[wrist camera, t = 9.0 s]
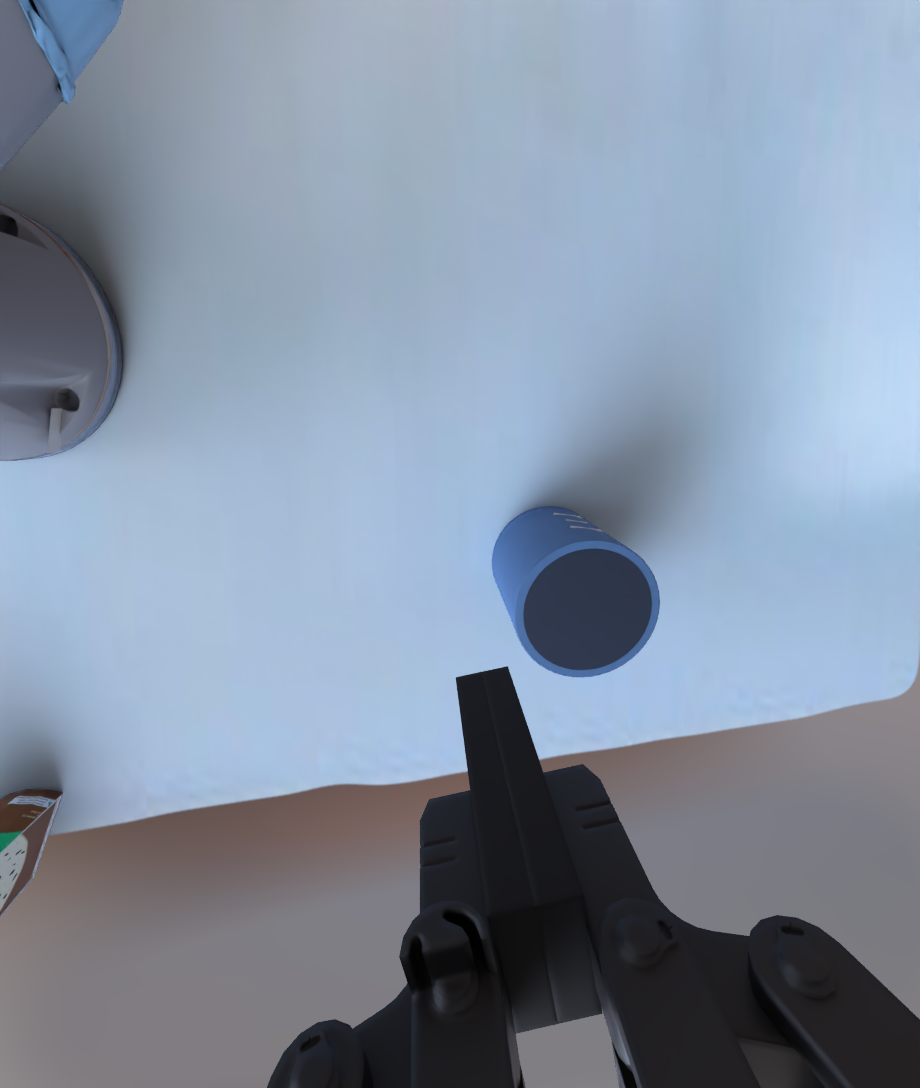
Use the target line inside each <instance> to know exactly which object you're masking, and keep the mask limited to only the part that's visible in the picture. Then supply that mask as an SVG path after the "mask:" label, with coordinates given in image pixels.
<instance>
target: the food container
mask: <svg viewBox="0 0 920 1088" xmlns="http://www.w3.org/2000/svg"><path fill="white" fill-rule="evenodd" d="M61 797H62V793H58V792H54V791H50V790H24V791H20V792H15V793H11V794H9V795H7V796H5V797H4V798H2V799H0V918H1V916H2V915H3V914H4V913H5V911H6V910H7V909H8V908H9V907H10V906H11V904H12V903H13V902H14V900H15V899H16V898H17V897H18V896H19V894H20V893H21V892H22V891H23V890H24V888H25V887H26V886H27V885H28V884H29V882H30V881H31V880H32V879H33V877H34V876H35V873H36V870H37V867H38V864H39V861H40V858H41V855H42V852H43V850H44V846H45V844H46V841H47V838H48V835H49V832H50V829H51V826H52V823H53V820H54V817H55V814H56V811H57V808H58V806H59V803H60V800H61Z"/></svg>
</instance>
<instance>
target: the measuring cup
mask: <svg viewBox="0 0 920 1088" xmlns="http://www.w3.org/2000/svg"><path fill="white" fill-rule="evenodd" d="M492 569H493V575H494V578H495V581H496V583H497V586H498V588H499V591H500V593H501V596H502V598H503V601H504V603H505V606H506V608H507V611H508V613H509V616H510V618H511V621H512V623H513V626H514V628H515V631H516V633H517V636H518V638H519V640H520V642H521V644H522V646H523V648H524V649H525V651H526V652H527V653H528V654H529V656H530V657H531V658H532V659H533V660H534V661H536V662H537V663H538V664H539V665H541V666H542V667H544V668H546V669H547V670H550V671H552V672H554V673H557V674H560V675H564V676H570V677H591V676H596V675H601V674H604V673H607V672H610V671H612V670H614V669H616V668H618V667H620V666H622V665H623V664H625V663H626V662H628V661H629V660H630V659H632V658H633V657H634V656H635V655H636V654H637V653H638V652H639V651H640V650H641V649H642V648H643V646H644V645H645V644H646V642H647V641H648V639H649V638H650V636H651V634H652V632H653V630H654V628H655V625H656V622H657V619H658V614H659V605H660V599H659V590H658V586H657V582H656V580H655V577H654V575H653V573H652V571H651V570H650V568H649V567H648V565H647V564H646V563H645V561H644V560H643V559H642V558H641V557H639V556H638V555H637V554H636V553H634V552H633V551H632V550H630V549H629V548H627V547H626V546H624V545H623V544H621V543H620V542H618V541H617V540H615V539H614V538H612V537H611V536H609V535H608V534H606V533H605V532H603V530H600V529H599V528H597V527H595V526H594V525H592V524H591V523H589V522H588V521H586V520H585V519H583V518H582V516H579V515H577V514H576V513H574V512H572V511H569V510H566V509H563V508H558V507H541V508H536V509H532V510H529V511H527V512H525V513H523V514H521V515H519V516H518V517H516V518H515V519H514V520H512V521H511V522H510V523H509V524H508V525H507V526H506V527H505V528H504V530H503V531H502V532H501V534H500V536H499V537H498V539H497V542H496V544H495V547H494V551H493V556H492Z"/></svg>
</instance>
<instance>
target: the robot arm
mask: <svg viewBox="0 0 920 1088" xmlns="http://www.w3.org/2000/svg"><path fill="white" fill-rule="evenodd" d="M122 4H123V0H0V171H1V170H2V169H3V167H4V166H5V165H6V164H7V163H8V162H9V161H10V159H11V158H12V157H13V156H14V155H15V154H16V153H17V151H18V150H19V149H20V148H21V147H22V146H23V145H24V143H25V142H26V141H27V140H28V139H29V138H30V137H31V135H32V134H33V133H34V132H35V131H36V130H37V129H38V127H39V126H40V125H41V124H42V123H43V122H44V121H45V119H46V118H47V117H48V116H49V115H50V114H51V113H52V111H53V110H54V109H55V108H56V107H57V106H58V105H59V104H60V102H61V101H63V102H65V103H66V104H68V103H69V102H70V101H71V100H72V99H73V97H74V94H75V84H74V82H75V80H76V79H77V77H78V76H79V75H80V73H81V72H82V71H83V69H84V68H85V67H86V65H87V64H88V62H89V61H90V60H91V58H92V57H93V56H94V54H95V53H96V52H97V50H98V49H99V47H100V46H101V45H102V43H103V42H104V41H105V39H106V38H107V36H108V35H109V34H110V32H111V31H112V30H113V28H114V27H115V25H116V23H117V21H118V19H119V16H120V14H121V10H122ZM121 371H122V351H121V341H120V336H119V331H118V327H117V323H116V320H115V317H114V314H113V311H112V309H111V306H110V304H109V302H108V300H107V298H106V295H105V293H104V292H103V290H102V288H101V286H100V285H99V283H98V281H97V280H96V278H95V277H94V275H93V274H92V272H91V271H90V270H89V268H88V267H87V266H86V265H85V263H84V262H83V261H82V260H81V258H80V257H79V256H78V255H77V254H76V253H75V252H74V251H73V250H72V249H71V248H70V247H69V246H68V245H67V244H66V243H65V242H63V241H62V240H61V239H60V238H59V237H58V236H56V235H55V234H54V233H52V232H51V231H50V230H48V229H47V228H45V227H44V226H42V225H41V224H39V223H38V222H36V221H34V220H32V219H31V218H29V217H27V216H25V215H23V214H21V213H19V212H17V211H15V210H13V209H11V208H9V207H7V206H5V205H3V204H1V203H0V461H13V460H24V459H33V458H42V457H47V456H51V455H55V454H58V453H61V452H64V451H66V450H68V449H70V448H72V447H74V446H76V445H77V444H79V443H81V442H82V441H84V440H85V439H86V438H87V437H89V436H90V435H91V434H92V433H93V432H94V431H95V430H96V429H97V428H98V427H99V426H100V425H101V423H102V422H103V421H104V419H105V418H106V416H107V415H108V413H109V411H110V409H111V407H112V405H113V403H114V401H115V398H116V395H117V392H118V389H119V384H120V379H121ZM456 683H457V691H458V699H459V706H460V714H461V722H462V729H463V737H464V745H465V753H466V760H467V768H468V775H469V783H470V790H469V791H465V792H460V793H456V794H451V795H447V796H442V797H438V798H433V799H430V800H429V801H428V803H427V806H426V808H425V810H424V813H423V815H422V817H421V820H420V846H421V848H420V866H421V868H420V914H419V915H418V916H417V917H416V918H415V919H414V920H413V921H412V923H411V925H410V926H409V928H408V930H407V932H406V933H405V935H404V937H403V941H402V946H401V951H400V956H399V957H400V960H401V963H402V966H403V970H404V973H405V976H406V979H407V982H408V983H407V985H406V987H405V988H404V989H403V990H402V991H401V993H400V994H399V995H398V996H397V998H396V999H394V1000H393V1001H392V1002H391V1003H390V1004H388V1005H387V1006H386V1007H385V1008H383V1009H382V1010H380V1011H379V1012H377V1013H376V1014H375V1015H373V1016H372V1017H370V1018H368V1019H367V1020H365V1021H364V1022H362V1023H361V1024H359V1025H358V1026H356V1027H355V1028H353V1029H352V1028H351V1027H350V1025H348V1024H346V1023H343V1022H340V1021H338V1020H329V1021H323V1022H318V1023H316V1024H315V1025H313V1026H312V1027H310V1028H308V1029H307V1030H305V1031H304V1032H302V1033H300V1034H299V1035H298V1037H297V1038H296V1039H295V1040H294V1041H293V1042H292V1044H291V1045H290V1046H289V1047H288V1048H287V1050H285V1052H284V1053H283V1055H282V1057H281V1059H280V1061H279V1063H278V1064H277V1066H276V1068H275V1070H274V1072H273V1074H272V1076H271V1078H270V1081H269V1084H268V1086H267V1088H525V1082H524V1078H523V1074H522V1070H521V1066H520V1060H519V1054H518V1047H517V1041H516V1033H520V1032H525V1031H529V1030H533V1029H537V1028H542V1027H546V1026H550V1025H555V1024H559V1023H563V1022H567V1021H572V1020H576V1019H580V1018H585V1017H589V1016H594V1015H598V1014H602V1009H603V1013H604V1016H605V1019H606V1023H607V1026H608V1029H609V1033H610V1036H611V1039H612V1045H613V1052H614V1059H615V1064H616V1072H617V1079H618V1085H619V1088H920V1019H919V1018H917V1017H916V1016H915V1015H914V1014H913V1013H912V1012H911V1011H910V1010H909V1009H908V1008H907V1007H906V1006H905V1005H904V1004H903V1003H902V1002H901V1001H900V1000H898V998H897V997H895V996H894V995H893V994H892V993H891V992H890V991H889V990H888V989H887V988H886V987H885V986H884V985H883V984H882V983H881V982H880V981H879V980H878V979H877V978H876V977H875V976H874V975H872V974H871V973H870V972H869V971H868V970H867V969H866V968H865V967H864V966H863V965H862V964H861V963H860V962H859V961H858V960H857V959H856V958H854V956H853V955H851V954H850V953H849V952H848V951H847V950H846V949H845V948H844V947H843V946H842V945H841V944H840V943H839V942H837V941H836V940H835V939H834V938H832V937H831V936H830V935H828V934H827V933H826V932H824V931H823V930H822V929H820V928H819V927H817V926H815V925H812V924H810V923H808V922H805V921H803V920H801V919H799V918H795V917H787V916H779V915H776V916H773V917H769V918H766V919H762V920H760V922H758V924H757V925H756V926H755V927H754V928H753V929H752V930H751V932H750V936H744V935H736V934H729V933H722V932H714V931H710V930H706V929H702V928H697V927H695V926H693V925H691V924H689V923H687V922H685V921H683V920H681V919H680V918H679V917H677V916H676V915H675V914H673V913H672V912H670V911H669V909H668V908H667V907H666V906H665V905H664V904H663V903H662V902H661V901H660V900H659V898H658V896H657V895H656V893H655V892H654V890H653V888H652V886H651V884H650V882H649V880H648V878H647V876H646V874H645V872H644V870H643V868H642V865H641V863H640V861H639V859H638V857H637V855H636V853H635V851H634V849H633V847H632V845H631V843H630V840H629V838H628V836H627V834H626V832H625V830H624V828H623V826H622V824H621V822H620V821H619V818H618V816H617V813H616V811H615V809H614V807H613V805H612V804H611V802H610V799H609V797H608V795H607V793H606V791H605V788H604V787H603V784H602V782H601V780H600V779H599V778H598V777H597V776H596V775H595V774H593V773H592V772H591V771H590V770H589V769H588V768H586V766H584V765H583V764H582V765H577V766H572V767H567V768H563V769H558V770H554V771H549V772H545V773H543V771H542V768H541V765H540V762H539V759H538V756H537V753H536V750H535V747H534V744H533V741H532V738H531V735H530V732H529V729H528V726H527V723H526V720H525V717H524V714H523V711H522V708H521V705H520V702H519V699H518V696H517V693H516V690H515V687H514V684H513V681H512V678H511V675H510V672H509V669H508V666H507V667H503V668H498V669H493V670H489V671H484V672H479V673H474V674H470V675H465V676H460V677H456ZM601 1006H602V1007H601Z"/></svg>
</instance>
